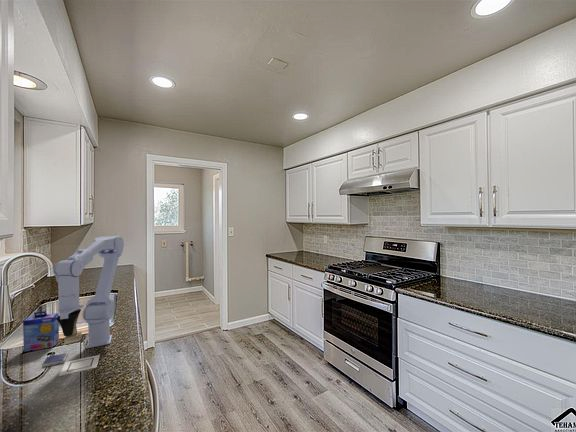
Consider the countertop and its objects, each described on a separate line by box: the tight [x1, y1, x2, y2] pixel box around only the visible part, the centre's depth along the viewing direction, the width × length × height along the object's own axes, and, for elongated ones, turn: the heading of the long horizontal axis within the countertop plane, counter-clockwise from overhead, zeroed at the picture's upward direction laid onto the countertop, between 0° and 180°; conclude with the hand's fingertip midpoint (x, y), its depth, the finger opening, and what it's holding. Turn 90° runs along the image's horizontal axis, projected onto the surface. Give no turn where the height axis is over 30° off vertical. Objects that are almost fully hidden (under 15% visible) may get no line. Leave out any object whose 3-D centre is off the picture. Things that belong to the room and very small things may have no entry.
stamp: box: [63, 318, 83, 346], centre depth 98 cm, size 4×4×9 cm
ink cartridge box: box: [22, 310, 60, 353], centre depth 111 cm, size 10×6×14 cm, turn 113°
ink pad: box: [41, 352, 69, 368], centre depth 99 cm, size 6×6×1 cm
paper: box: [58, 354, 101, 377], centre depth 96 cm, size 10×10×1 cm
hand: (69, 333), depth 97 cm, fingers closed on stamp, 3 cm apart
